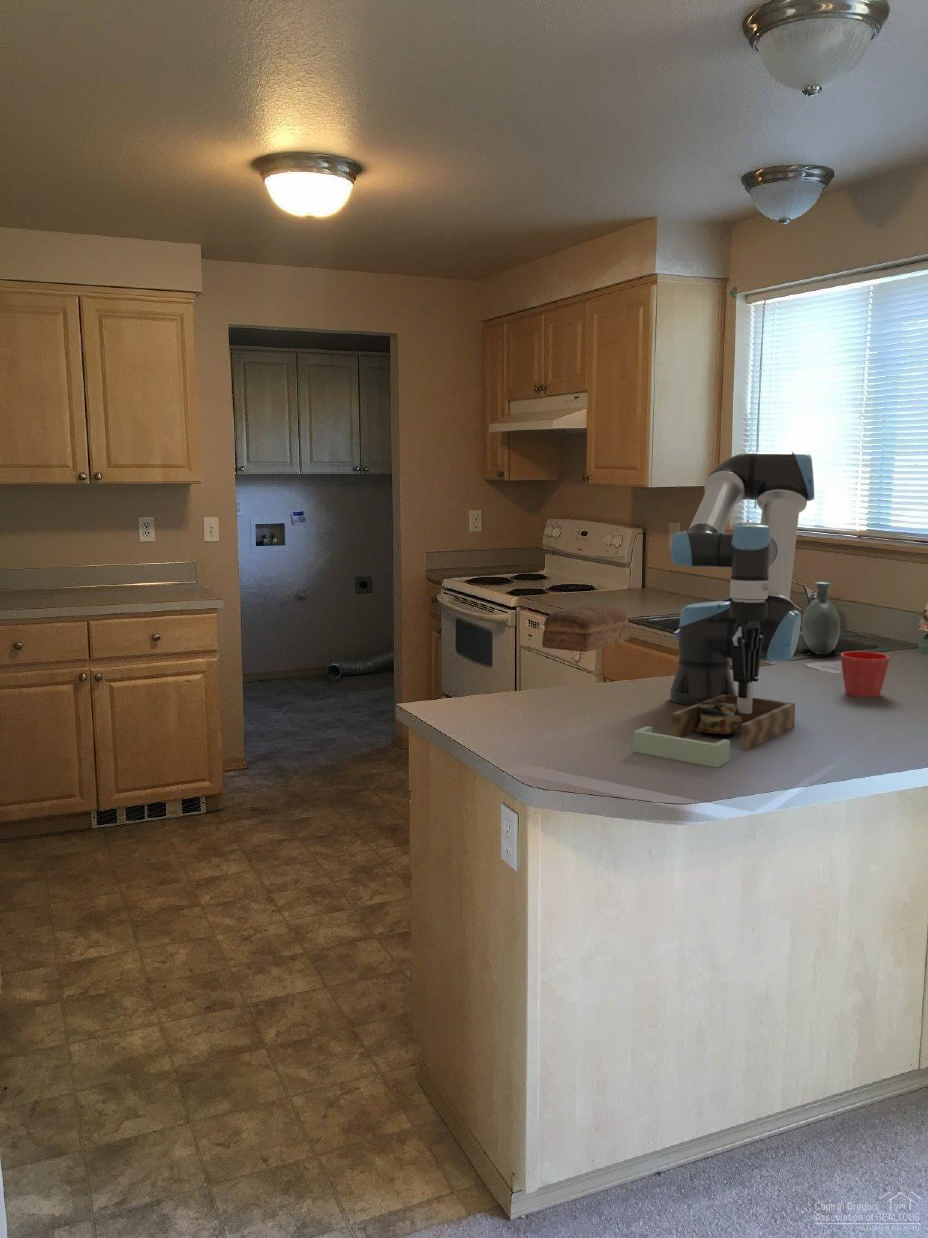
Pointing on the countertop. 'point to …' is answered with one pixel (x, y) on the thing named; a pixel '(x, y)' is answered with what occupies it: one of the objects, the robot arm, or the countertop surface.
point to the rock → (719, 718)
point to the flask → (821, 623)
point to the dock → (681, 748)
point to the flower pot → (864, 673)
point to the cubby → (758, 728)
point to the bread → (585, 628)
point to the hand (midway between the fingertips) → (744, 712)
